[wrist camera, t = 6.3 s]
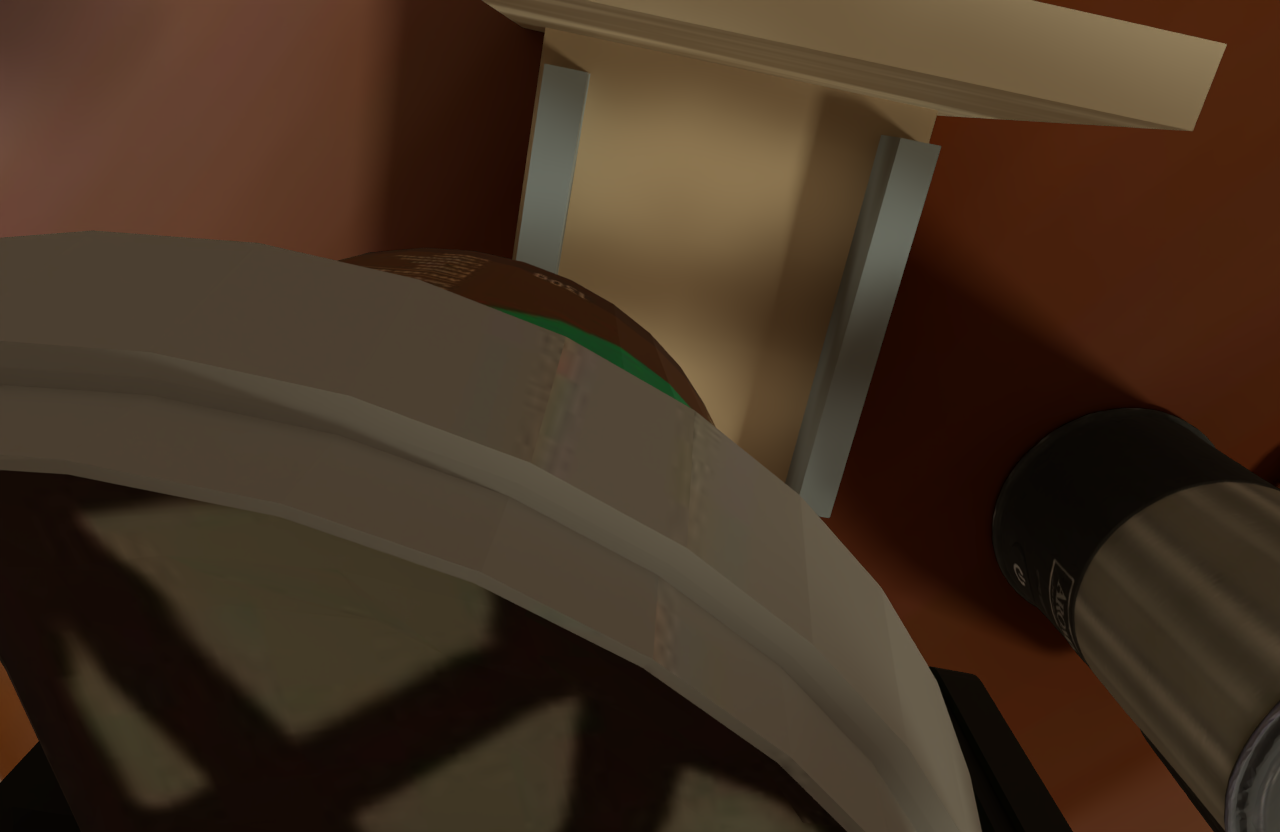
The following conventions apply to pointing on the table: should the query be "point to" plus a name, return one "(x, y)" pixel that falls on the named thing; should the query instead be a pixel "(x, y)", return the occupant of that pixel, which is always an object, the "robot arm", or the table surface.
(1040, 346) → the table surface
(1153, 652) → the milk frother
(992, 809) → the robot arm
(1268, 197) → the table surface
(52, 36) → the table surface
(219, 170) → the table surface
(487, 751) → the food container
